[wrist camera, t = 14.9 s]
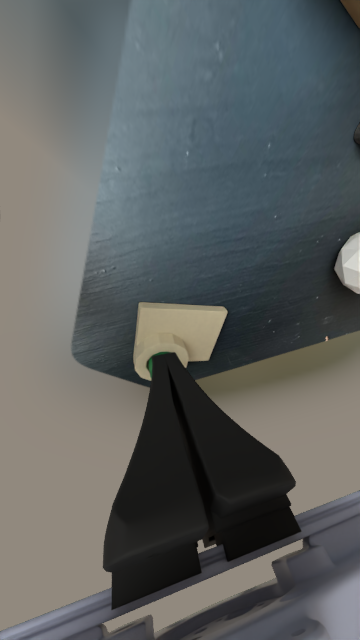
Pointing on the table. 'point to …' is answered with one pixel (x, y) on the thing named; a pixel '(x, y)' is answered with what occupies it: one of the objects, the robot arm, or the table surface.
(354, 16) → the brown flat block
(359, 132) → the smartphone
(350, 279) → the ornament
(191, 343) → the box
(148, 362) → the release button
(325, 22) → the table surface
